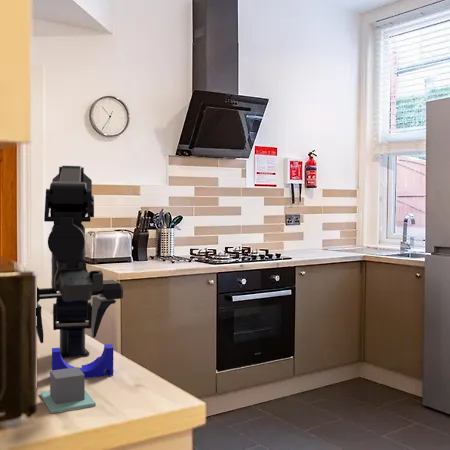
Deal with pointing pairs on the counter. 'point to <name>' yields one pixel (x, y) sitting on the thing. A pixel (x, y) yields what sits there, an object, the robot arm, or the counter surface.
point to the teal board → (66, 406)
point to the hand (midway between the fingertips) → (68, 339)
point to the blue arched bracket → (93, 369)
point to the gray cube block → (67, 385)
